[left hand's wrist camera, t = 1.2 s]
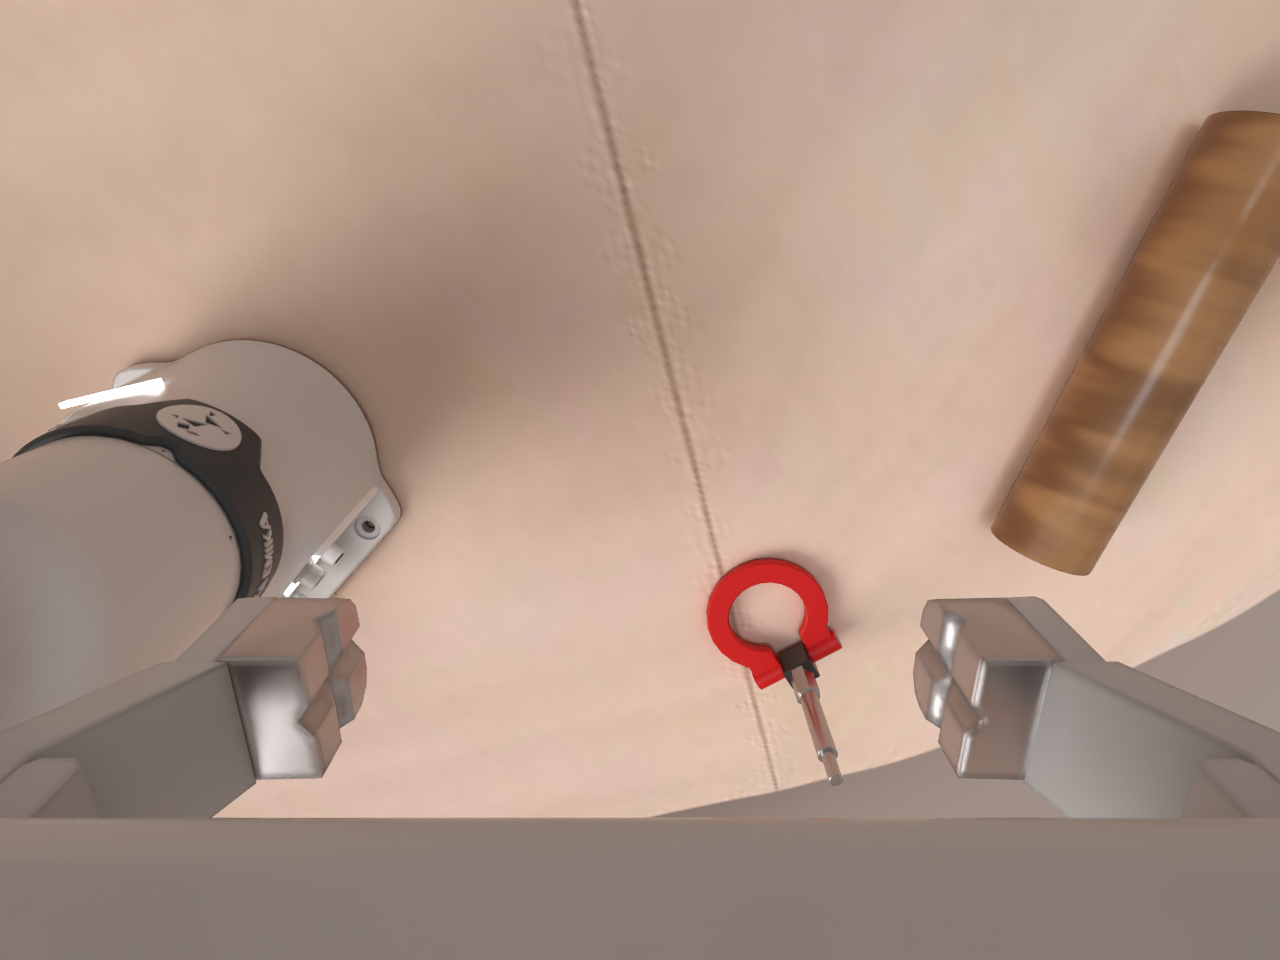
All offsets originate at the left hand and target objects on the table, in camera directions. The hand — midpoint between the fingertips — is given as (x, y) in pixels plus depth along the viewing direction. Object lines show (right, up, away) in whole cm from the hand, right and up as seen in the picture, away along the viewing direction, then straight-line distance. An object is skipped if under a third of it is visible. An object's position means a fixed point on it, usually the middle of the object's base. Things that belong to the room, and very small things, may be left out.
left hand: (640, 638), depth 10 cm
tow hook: (+9, -7, +41) cm, 43 cm away
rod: (+29, +10, +34) cm, 46 cm away
